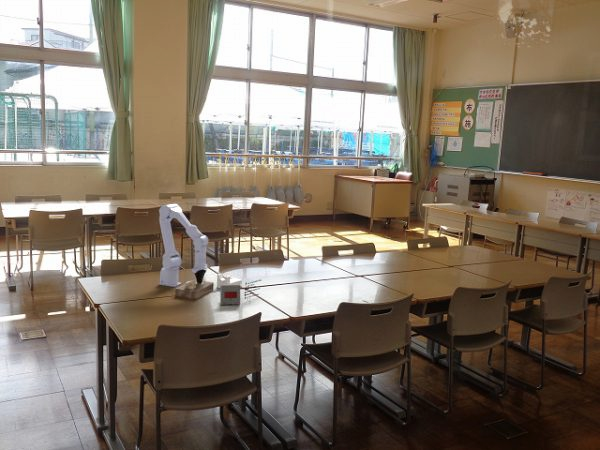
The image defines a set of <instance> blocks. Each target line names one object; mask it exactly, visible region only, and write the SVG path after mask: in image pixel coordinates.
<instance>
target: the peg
mask: <svg viewBox="0 0 600 450" xmlns="http://www.w3.org/2000/svg"><path fill="white" fill-rule="evenodd" d="M185 284H186V285H185V288H186V289H192V290H193V289H195V288H196V282H194V281H191V280H188V281H185Z"/></svg>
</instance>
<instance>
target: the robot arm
mask: <svg viewBox="0 0 600 450" xmlns="http://www.w3.org/2000/svg"><path fill="white" fill-rule="evenodd" d="M158 211H159V212H158V213H159V217H158V218H159V220H158V222H159V226H160V232H161V238H162V242H163V248H164V254H163V255H162V266H163V267H162V268H161V269H160V273H159V283H158V285H160V286H166V287H173V288H174V287H178V286H179V285H182V282H179V277H180V276H179V274H180V273H179V269H180V266H181V265H182V263H183V260H182V258H181V256H180V253H179V252H178V250H176V247H175V245H176V244H175V240H174V236H173V230H172V224H171V221H172V220H173V219H176V220H177V221H178V222H179V223H180V224H181V225H182V226H183V227H184V229H185V233H186V234H187V235H188V236H189V238H190V239H191V240H192V244H193V246H194V266H193V268H192V269H191V273H192V274H194V276H195V280H197V283H198V284H201V283H202V281H204V280H203V279H204V278H205V277H204V276H205V274H206V273H207V269H208V268H209V266H208V263H206V262H207V246H208V245H209V243H210V241H209V240H210V239H209V238H208V236H207V235H205V234H203V233H202V232H201V231H200V230H199V229H198V226H197V225H195V224H191V222H190V221H189V219H188V218H187V217H186V215H185V214H184V213H183V210H182V208H181V207H180V205H179V204H178V203H173V204H171V203H170V204H163V205H161V207H160V208H159V209H158Z"/></svg>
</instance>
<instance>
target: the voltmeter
mask: <svg viewBox="0 0 600 450" xmlns="http://www.w3.org/2000/svg"><path fill="white" fill-rule="evenodd" d="M261 281H262V279H259V282H261ZM254 283H257V280H255V281H253V280H252V281H251V282H250V281H249V282H245V286H246V287H245V289H244V292H245V293H244V295H243V296H244V300H247V301H249V300H248V299H249V298H251V297H255V296H258V295H260V293H257V294H254V292H255V291H257V290H260V289H261V288H260V287H259V288H257V286H255V284H254ZM247 284H248V285H247ZM254 288H255V289H254ZM219 289H220V290H219V291H220V292H219V293H220V295H219V297H220V302H219V303H220V306H222V305H223V306H228V305H230V304H232V305H240V304H241V285H240V284H236V285H220V288H219ZM248 290H249V291H248ZM253 291H254V292H253ZM249 292H250V293H249ZM249 295H250V296H249Z"/></svg>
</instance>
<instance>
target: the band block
mask: <svg viewBox="0 0 600 450" xmlns="http://www.w3.org/2000/svg"><path fill="white" fill-rule="evenodd" d="M190 281H194V282H197V280H196V279H192V280H190ZM202 283H204V284H202V285H199V284H196V288H195V289H193V290H192V289H186V288H185V285H186V283H183V284H181V285H180V286H177V287H176V288H175V289H174V290H175V291H174V293H175V294H174V295H175V297H178V298H185V299H189V300H199V299H200V298H202V297H203V296H205V295H207V294H208V293H210V292H212V291H214V286H215V285H214V282H212V281H206V280H205V281H204V280H203V281H202Z"/></svg>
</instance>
